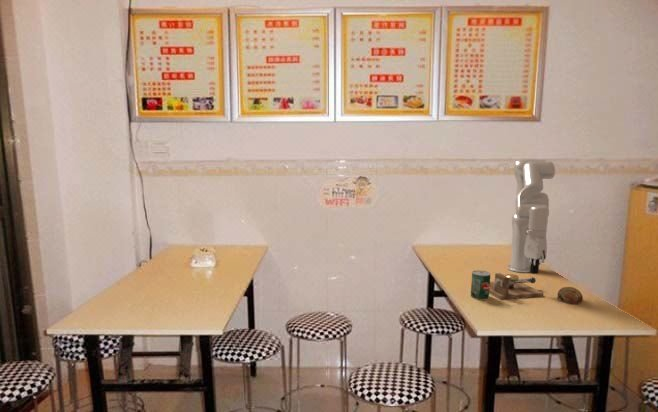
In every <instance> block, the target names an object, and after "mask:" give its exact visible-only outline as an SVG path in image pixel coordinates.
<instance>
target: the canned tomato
mask: <svg viewBox="0 0 658 412" xmlns="http://www.w3.org/2000/svg"><path fill="white" fill-rule="evenodd" d="M490 282H491V272H489V271H486V270H485V271H484V270H472V272H471V282H470V283H471V285H470V297H471V298H472V299H476V300H479V301H480V300H481V301H482V300H484V301H486V300H489V299H490V293H489V289H490ZM485 299H486V300H485Z"/></svg>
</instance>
